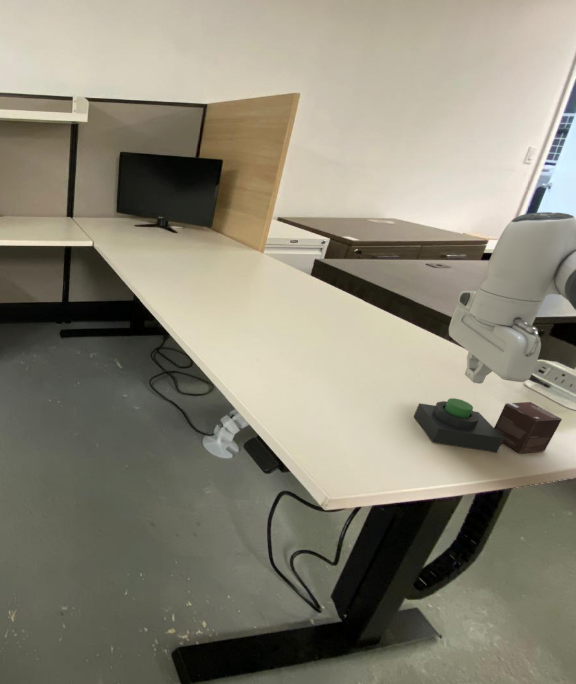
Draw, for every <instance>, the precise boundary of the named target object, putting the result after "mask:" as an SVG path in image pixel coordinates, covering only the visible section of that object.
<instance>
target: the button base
mask: <svg viewBox="0 0 576 684" xmlns="http://www.w3.org/2000/svg"><path fill="white" fill-rule="evenodd" d="M446 403H447V401H445V400H443V401H438V402H436V403H435V405H433V404H428V403H421V402H419V403H418V405H417V407H416V410H415V412H414V415H413V417H414V419H415V420H416V421H417V423H418V424H419V426H420V427H421V428H422V430H423V432H425V434H426V435H427V437H428V438H429V440H430V441H431V443H434V444H439V445H448V446H453V447H459V448H466V449H473V450H479V451H484V452H492V453H498V452H499V449H500V447H501V446H502V443H504V442H503V440H504V438H503V437H502V436H501V435H500V434H499V433H498V432H497V431H496V430H495V428H494V427H495V426H493V425H492V424H491V423H490V422H489V421H488V420H487V419H486V418H485V417H484V416H483V415H482V414H481V413H480V411H474V410H472V412H471V414H470V416H469V418H462V417H458V416H455V415H452V414H450V413H448V412H447V411H445V410H444V408H445V406H446Z"/></svg>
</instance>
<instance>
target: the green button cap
mask: <svg viewBox="0 0 576 684" xmlns="http://www.w3.org/2000/svg"><path fill="white" fill-rule="evenodd" d="M446 402H447V403H446V406H445V408H444V410H445V411H447V412H448V413H450V414H452V415H455V416H458V417H462V418H469V416H470V414H471V412H472V410H473V409H474V406H473V405H472V404H471V403H469V402H467V401H466V400H463V399H459V398H454V397H453V398H452V397H451V398H448V399H447V401H446ZM473 411H474V410H473Z"/></svg>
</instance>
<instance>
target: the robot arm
mask: <svg viewBox="0 0 576 684" xmlns="http://www.w3.org/2000/svg"><path fill="white" fill-rule="evenodd" d="M487 266H488V267H487V273H486V275H485V277H484V279H483V280H482V281H481V282H480V283H479V285H478V288H477V290H462V291H460V292H459V294H458V297H457V302H458V303H459V304H457V306H456V307H455V309H454V311H453V314H452V317H451V320H450V323H449V326H448V335H449V337H450V338H451V339H453V340H454V341H455V342H456V343H458V345H460V346H461V347H462V348H463V349H465V351H467V355H466V369H465V372H464V375H465V377H467V378H468V379H469V380H470V381H471V382H472V383H473V384H483V383H484V381H485V379H486V377H487V376H488V375H489V374H492V372H493V373H494V374H495V375H497V376H498V377H499V378H500V379H502V380H503V381H508V382H517V383H524V382H527V381H529V380H530V379H531V377H532V376H533V373H534V370H535V368H536V365H537V363H538V360H539V356H540V352H541V349H542V348H541V347H542V342H541V337H540V334H539V329H538V328H537V327H536V326H535V325H534V322H535V320H536V318H537V315H538V313H539V312H540V310H541V307H542V305H543V303H544V301H545V298H546V297H547V296H548V295H558V296H562V297H563V298H564V299H566V300H567V301H568V302H569V304H570V305H571V306H572V307H573V309H574V310H575V311H576V217H575V216H574V215H572V214H569V213H564V212H550V211H549V212H548V211H547V212H546V211H544V212H543V211H542V212H529V213H524V214H520V215H518V216H516V217H515V218H513V219H511V220H510V221H509V223H507V225H506V226H505V228H504V229H503V231H502V232H501V234H500V236H499V237H498V240H497V242H496V244H495V246H494V249H493V251H492V253H491V256H490V258H489V260H488V265H487Z"/></svg>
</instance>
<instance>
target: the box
mask: <svg viewBox="0 0 576 684" xmlns="http://www.w3.org/2000/svg"><path fill="white" fill-rule="evenodd" d="M561 422H562V418H561V417H559V416H558V415H555V414H554V413H552V412H550V411H548V410H546V409H545V408H543V407H540V406H539V405H537V404H535V403H533V402H532V401H526V402H525V401H524V402H523V401H522V402H508V403H507V402H506V403H505V404H504V406H503V407H502V410H501V413H500V414H499V417H498V419H497V421H496V422H495V425H494V426H493V427H494V428H495V430H496V431H497V432H498V433H499V434H500V435H501V436H502V437H503V438H504V440H503V442H502V443H503V444H505V445H507V446H508V447H510V448H511V449H512V450H514V451H516V452H518V453H519V454H527V453H538V452H545V451H546V450H547V447H548V445H549V444H550V442H551V440H552V439H553V437H554V435H555V432H556V431H557V429H558V427H559V426H560V424H561Z"/></svg>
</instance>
